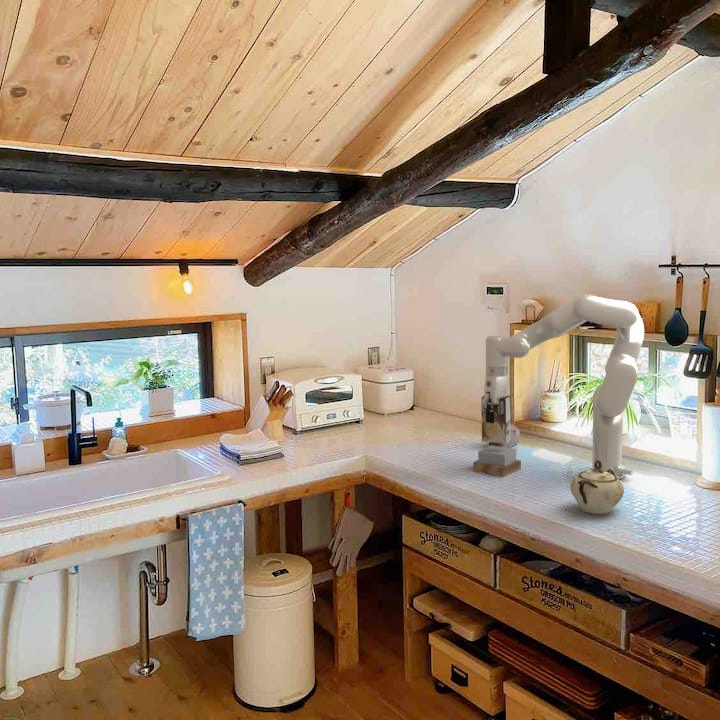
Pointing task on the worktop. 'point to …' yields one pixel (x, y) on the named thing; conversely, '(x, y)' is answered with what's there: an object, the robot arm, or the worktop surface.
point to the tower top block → (497, 455)
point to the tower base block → (497, 468)
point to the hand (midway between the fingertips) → (496, 420)
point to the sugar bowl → (597, 490)
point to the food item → (514, 440)
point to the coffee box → (497, 422)
